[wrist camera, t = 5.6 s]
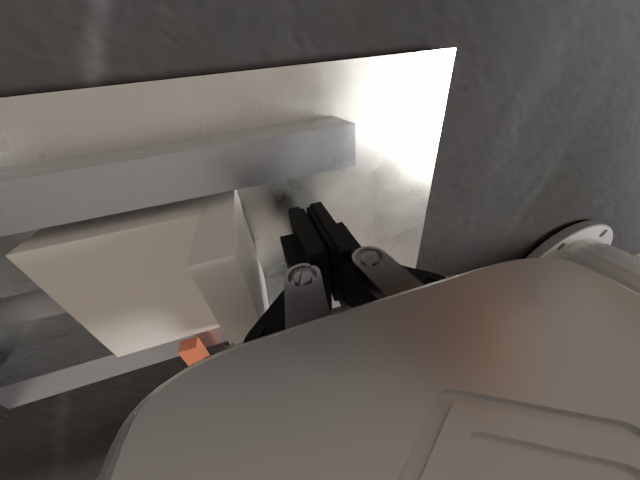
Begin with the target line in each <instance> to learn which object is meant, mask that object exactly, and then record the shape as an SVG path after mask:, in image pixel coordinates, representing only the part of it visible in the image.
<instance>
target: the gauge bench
mask: <svg viewBox="0 0 640 480" xmlns="http://www.w3.org/2000/svg"><path fill="white" fill-rule="evenodd" d="M455 52H456V48H447V49H437V50H428V51H419V52H410V53H401V54H392V55H383V56H374V57H365V58H356V59H347V60H338V61H329V62H320V63H311V64H302V65H293V66H284V67H275V68H265V69H256V70H247V71H238V72H229V73H220V74H211V75H202V76H193V77H184V78H175V79H166V80H157V81H148V82H139V83H130V84H121V85H112V86H102V87H93V88H84V89H75V90H66V91H57V92H48V93H39V94H30V95H21V96H12V97H3V98H0V299H1V298H6V297H10V296H14V295H18V294H22V293H27V292H31V291H35V290H39V289H41V288H40V287H39V286H38V285H37V284H36V283H35V282H34V281H32V280H31V279H30V278H29V277H28V276H27V275H26V274H25V273H24V272H22V271H21V270H20V269H19V268H18V267H17V266H16V265H15V264H14V263H12V262H11V261H10V260H9V259H8V258H7V257H6V256H5V255H6V254H8V253H9V252H10V251H12V250H13V249H14V248H16V247H17V246H18V245H19V244H21V243H22V242H23V241H25V240H26V239H27V238H29V237H30V236H31V235H33V234H34V233H35V232H37V231H38V230H39V229H42V228H47V227H52V226H57V225H62V224H67V223H72V222H77V221H82V220H87V219H92V218H97V217H102V216H107V215H112V214H117V213H122V212H127V211H132V210H137V209H142V208H147V207H152V206H157V205H162V204H167V203H172V202H177V201H182V200H187V199H192V198H197V197H202V196H207V195H212V194H217V193H222V192H227V191H232V190H237V193H238V196H239V199H240V202H241V205H242V208H243V211H244V215H245V218H246V221H247V224H248V227H249V230H250V233H251V237H252V240H253V243H254V246H255V249H256V252H257V255H258V259H259V262H260V265H261V268H262V271H263V274H264V277H265V283H266V289H267V296H268V302H269V307H270V306H271V304H272V303H273V302H274V301H275V299H276V298H277V297H278V296H279V295H280V293H281V292H282V291H283V290H284V275H285V273H286V271H287V270H288V268H287V265H286V261H285V257H284V253H283V249H282V245H281V240H280V237H281V236H285V235H289V234H293V233H292V228H291V223H290V217H289V212H288V209H289V208H294V207H298V206H299V207H300V209H302V208H304V210H305V211H306V213H307V210H306V208H307V207H310V204H312V203H316V202H321V203H322V204H323V205H324V207H325V208H326V210H327V211H328V212H329V214H330V215H331V216H332V218H333V219H334V221H335V222H336V223H339V222H343V223H344V225H345V226H346V227H347V229H348V230H349V231H350V232H351V234H352V235H353V236H354V238H355V239H356V240H357V242H358V243H359V244H360V245H361V247H364V246H373V247H377V248H380V249H382V250H383V251H385V252H386V253H387V254H388V255H389V256H391V257H392V258H393V259H394V260H395V261H397V262H398V263H399V264H400V265H403V266H407V267H411V268H415V269H416V263H417V258H418V252H419V247H420V242H421V236H422V231H423V225H424V220H425V214H426V209H427V204H428V198H429V193H430V187H431V182H432V176H433V171H434V166H435V160H436V155H437V149H438V144H439V139H440V133H441V128H442V122H443V117H444V111H445V106H446V101H447V95H448V90H449V84H450V79H451V73H452V68H453V63H454V57H455ZM331 295H332V294H331ZM339 306H341V305H340V303H339V301H336V302H335V301H334V299H333V297H332V308H335V307H339ZM197 336H198V338H199V339H200V341H201V342H202V344H203V345H204V347H205V348H207V347H210V346H213V345H216V344H220V343H223V342H226V341H228V340H227V338H226V337H225V335H224V333H223V331H222V329H221V328H220V327H218V328H214V329H211V330H208V331H204V332H201V333H198V334H194V335H191V336H188V337H184V338H181V339H178V340H174V341H171V342H168V343H164V344H161V345H158V346H154V347H151V348H147V349H144V350H141V351H137V352H134V353H131V354H127V355H124V356H121V357H117V356H116V355H115V354H114V353H112V352H111V351H110V350H109V349H108V348H107V347H106V346H105V345H104V344H102V343H101V342H100V341H99V340H98V339H97V338H96V337H95V336H94V335H92V334H91V333H90V332H89V331H88V330H87V329H86V328H85V327H84V326H82V325H81V324H80V323H79V322H78V321H77V320H76V319H75V318H74V317H72V316H71V315H70V314H69V313H68V312H66V313H62V314H58V315H55V316H51V317H47V318H43V319H39V320H35V321H31V322H27V323H24V324H20V325H16V326H12V327H8V328H4V329H0V427H1V426H2V424H3V423H4V421H5V420H6V418H7V417H8V415H9V414H10V412H11V411H12V409H13V408H14V407H17V406H20V405H23V404H27V403H30V402H33V401H36V400H40V399H43V398H46V397H49V396H52V395H56V394H59V393H62V392H65V391H68V390H72V389H75V388H78V387H81V386H85V385H88V384H91V383H94V382H97V381H101V380H104V379H107V378H110V377H114V376H117V375H120V374H123V373H126V372H130V371H133V370H136V369H139V368H142V367H146V366H149V365H152V364H155V363H159V362H162V361H165V360H168V359H171V358H175V357H178V356H180V355H179V354H178V350H179V345H180V342H181V341H184V340H187V339H191V338H194V337H197Z"/></svg>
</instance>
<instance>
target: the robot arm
mask: <svg viewBox="0 0 640 480" xmlns="http://www.w3.org/2000/svg"><path fill="white" fill-rule="evenodd" d="M306 210H307V213H306V211H305V210H304V208H302V209H300V207H299V206H298V207H294V208H289V209H288V212H289V217H290V223H291V228H292V233H293V234H289V235H285V236H281V237H280V240H281V245H282V249H283V253H284V257H285V261H286V265H287V268H288V270H287V271H286V273H285V275H284V290H283V291H282V292H281V293H280V295H279V296H278V297H277V298H276V299H275V301H274V302H273V303H272V304H271V306H270V307H269V308H268V309H267V310H266V312H265V313H264V314H263V315H262V316H261V318H260V319H259V320H258V321H257V322H256V324H255V325H254V326H253V327H252V328H251V330H250V331H249V332H248V334H247V335H246V337H245V338H244V341H242V342H240V343H239V344H237V345H236V344H235V342H234V343H232V344H230V345H228V346H226V347H224V348H223V349H221V350H219V351H217V352H215V353H213V354H211V355H209V356H207V357H206V358H204V359H202V360H200V361H198V362H196V363H194V364H192V365H190V366H188V367H187V368H185V369H183V370H181V371H179V372H178V373H176V374H175V375H173V376H172V377H171V378H170V379H169V380H167V381H166V382H164V383H163V384H161V385H160V386H159V387H157V388H156V389H155V390H154V391H152V392H151V393H150V394H149V395H148V396H147V397H145V398H144V399H143V400H142V401H141V402H140V403H139V404H138V405H137V406H136V407H135V408H134V409H133V411H132V412H131V413H130V414H129V416H128V417H127V419H126V420H125V421H124V423H123V424H122V426H121V428H120V430H119V431H118V433H117V435H116V437H115V439H114V441H113V443H112V445H111V447H110V449H109V451H108V453H107V456H106V458H105V460H104V462H103V465H102V467H101V470H100V472H99V474H98V477H97V480H640V251H634V252H631V253H627V252H624V251H622V250H620V249H618V248H615V247H613V246H611V242H612V239H613V231H612V229H611V227H610V226H607V225H605V224H603V223H600V222H598V221H593V220H591V221H583V222H580V223H577V224H574V225H571V226H569V227H567V228H565V229H563V230H561V231H560V232H558V233H556V234H554V235H553V236H551V237H550V238H549V239H547V240H546V241H544V242H543V243H542V244H540V245H539V246H538V247H537V248H536V249H535V250H533V251H532V252H531V253H530V254H529V255H528V256H527V257H526V258H525V259H517V260H511V261H506V262H501V263H498V264H494V265H490V266H486V267H483V268H479V269H476V270H472V271H469V272H466V273H462V274H454V275H447V277H446V278H445V277H444V276H441V275H439V274H435V273H431V272H427V271H423V270H419V269H415V268H411V267H407V266H403V265H400V264H399V263H398V262H397V261H395V260H394V259H393V258H392V257H391V256H389V255H388V254H387V253H386V252H385V251H383V250H382V249H380V248H377V247H373V246H364V247H361V245H360V244H359V243H358V242H357V240H356V239H355V238H354V236H353V235H352V234H351V232H350V231H349V230H348V229H347V227H346V226H345V225H344V223H343V222H339V223H336V222H335V221H334V219H333V218H332V216H331V215H330V214H329V212H328V211H327V210H326V208H325V207H324V205H323V204H322V203H321V202H316V203H312V204H310V207H307V208H306ZM331 294H332V295H331ZM332 297H333V299H334V301H335V302H336V301H339V303H340V305H341V307H344V306H347V305H349V306H351V307H353V308H350V309H347V310H344V311H341V312H338V313H335V314H332V315H330V312H331V310H332Z"/></svg>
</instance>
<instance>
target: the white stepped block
mask: <svg viewBox="0 0 640 480" xmlns="http://www.w3.org/2000/svg"><path fill="white" fill-rule="evenodd" d="M5 256H6V257H7V258H8V259H9V260H10V261H11V262H12V263H14V264H15V265H16V266H17V267H18V268H19V269H20V270H21V271H22V272H24V273H25V274H26V275H27V276H28V277H29V278H30V279H31V280H32V281H34V282H35V283H36V284H37V285H38V286H39V287H40V288H41V289H39V290H35V291H31V292H27V293H22V294H18V295H14V296H10V297H6V298H1V299H0V329H4V328H8V327H12V326H16V325H20V324H24V323H27V322H31V321H35V320H39V319H43V318H47V317H51V316H55V315H58V314H62V313H66V312H68V313H69V314H70V315H71V316H72V317H74V318H75V319H76V320H77V321H78V322H79V323H80V324H81V325H82V326H84V327H85V328H86V329H87V330H88V331H89V332H90V333H91V334H92V335H94V336H95V337H96V338H97V339H98V340H99V341H100V342H101V343H102V344H104V345H105V346H106V347H107V348H108V349H109V350H110V351H111V352H112V353H114V354H115V355H116V356H117V357H121V356H124V355H127V354H131V353H134V352H137V351H141V350H144V349H147V348H151V347H154V346H158V345H161V344H164V343H168V342H171V341H174V340H178V339H181V338H184V337H188V336H191V335H194V334H198V333H201V332H204V331H208V330H211V329H214V328H218V327H220V328H221V329H222V331H223V333H224V335H225V337H226V338H227V340H228V342H229V344H232V343H234V342H235V344H236V345H237V344H239V343H240V342H242V341H244V338H245V337H246V335H247V334H248V332H249V331H250V330H251V328H252V327H253V326H254V325H255V324H256V322H257V321H258V320H259V319H260V318H261V316H262V315H263V314H264V313H265V312H266V310H267V309H268V308H269V302H268V296H267V289H266V283H265V277H264V274H263V271H262V268H261V265H260V262H259V259H258V255H257V252H256V249H255V246H254V243H253V240H252V237H251V233H250V230H249V227H248V224H247V221H246V218H245V215H244V211H243V208H242V205H241V202H240V199H239V196H238V193H237V190H232V191H227V192H222V193H217V194H212V195H207V196H202V197H197V198H192V199H187V200H182V201H177V202H172V203H167V204H162V205H157V206H152V207H147V208H142V209H137V210H132V211H127V212H122V213H117V214H112V215H107V216H102V217H97V218H92V219H87V220H82V221H77V222H72V223H67V224H62V225H57V226H52V227H47V228H42V229H39V230H38V231H37V232H35V233H34V234H33V235H31V236H30V237H29V238H27V239H26V240H25V241H23V242H22V243H21V244H19V245H18V246H17V247H16V248H14V249H13V250H12V251H10V252H9V253H8V254H6V255H5ZM178 354H179V355H180V356H181V358H182V359H183V360H184V361H185V362H186V364H187V365H188V366H190V365H192V364H194V363H196V362H198V361H200V360H202V359H204V358H206V357H207V356H209V355H210V354H209V353H208V351H207V350H206V348H205V347H204V345H203V344H202V342H201V341H200V339H199V338H198V336H197V337H194V338H191V339H187V340H184V341H181V342H180V345H179V350H178Z"/></svg>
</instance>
